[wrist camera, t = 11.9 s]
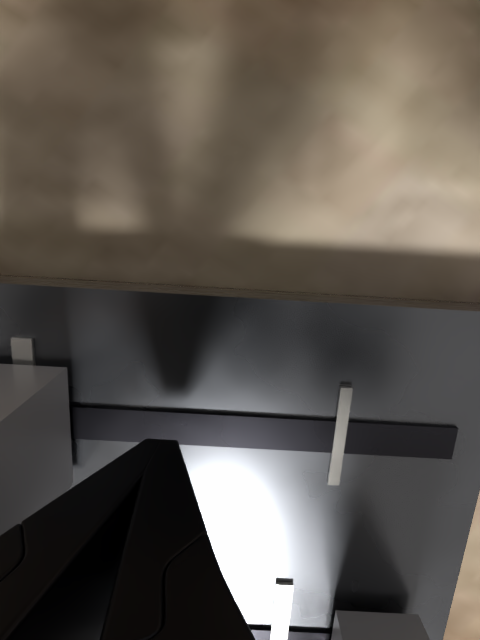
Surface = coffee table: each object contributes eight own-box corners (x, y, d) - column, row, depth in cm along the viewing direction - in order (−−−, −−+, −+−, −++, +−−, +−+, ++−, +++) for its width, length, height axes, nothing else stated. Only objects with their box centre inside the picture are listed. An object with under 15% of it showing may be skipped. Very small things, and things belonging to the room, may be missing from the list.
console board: (-100, 660, 13) (-136, 706, 12) (-183, 264, 10) (-245, 270, 9) (405, 685, 14) (422, 732, 12) (490, 304, 10) (526, 315, 9)
